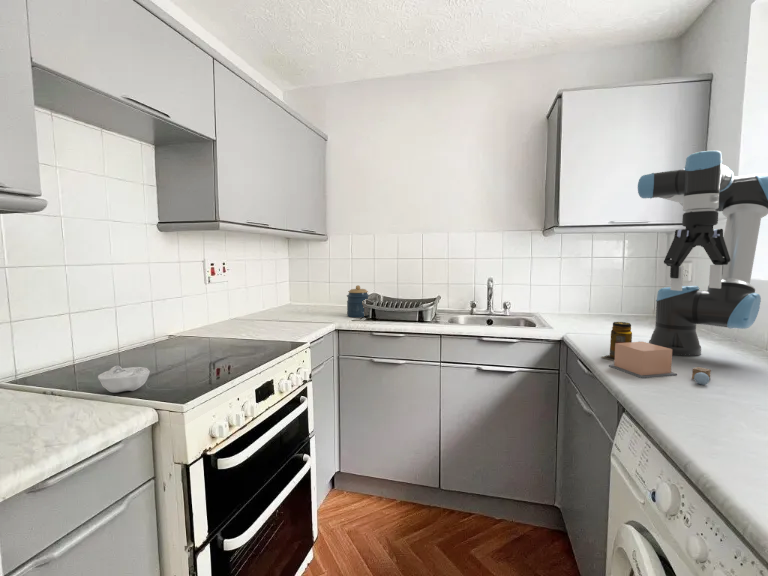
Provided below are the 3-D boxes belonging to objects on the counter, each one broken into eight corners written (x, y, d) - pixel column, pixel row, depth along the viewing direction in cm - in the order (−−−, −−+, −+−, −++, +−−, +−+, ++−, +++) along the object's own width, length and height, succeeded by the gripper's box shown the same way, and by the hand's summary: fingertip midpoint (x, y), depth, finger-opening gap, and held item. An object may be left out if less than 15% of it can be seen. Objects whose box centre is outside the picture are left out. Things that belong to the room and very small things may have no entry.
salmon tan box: (641, 363, 122) (642, 341, 121) (670, 372, 112) (672, 349, 112) (614, 365, 120) (615, 343, 119) (641, 375, 110) (643, 351, 109)
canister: (344, 317, 217) (343, 286, 215) (350, 314, 229) (349, 284, 228) (367, 318, 215) (366, 286, 213) (371, 314, 227) (371, 284, 226)
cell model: (135, 398, 97) (133, 371, 96) (88, 398, 97) (86, 371, 96) (159, 384, 107) (158, 360, 106) (116, 384, 107) (115, 360, 107)
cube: (697, 377, 110) (697, 367, 109) (710, 380, 107) (710, 369, 107) (691, 379, 108) (692, 368, 108) (704, 382, 106) (705, 371, 105)
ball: (700, 381, 105) (700, 370, 105) (712, 385, 102) (713, 374, 102) (690, 382, 105) (691, 371, 104) (702, 386, 102) (703, 374, 101)
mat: (641, 363, 123) (641, 362, 123) (676, 375, 111) (676, 373, 111) (608, 366, 121) (608, 364, 121) (641, 378, 109) (641, 376, 109)
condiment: (636, 359, 129) (638, 323, 128) (623, 363, 124) (625, 326, 123) (613, 354, 135) (614, 320, 134) (600, 358, 130) (602, 322, 129)
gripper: (677, 209, 98) (672, 292, 100) (750, 209, 104) (745, 288, 106) (650, 212, 106) (646, 289, 108) (720, 212, 111) (716, 286, 114)
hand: (695, 289), depth 107 cm, fingers open, 13 cm apart
